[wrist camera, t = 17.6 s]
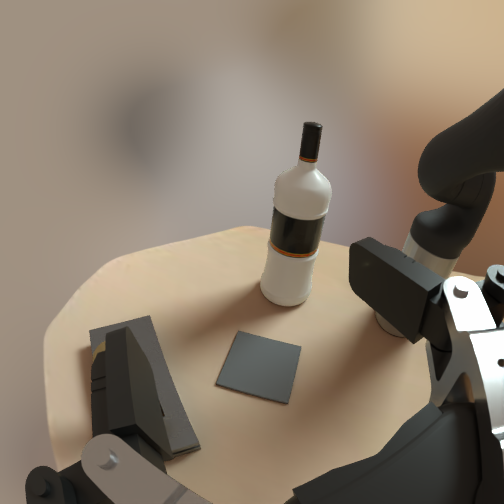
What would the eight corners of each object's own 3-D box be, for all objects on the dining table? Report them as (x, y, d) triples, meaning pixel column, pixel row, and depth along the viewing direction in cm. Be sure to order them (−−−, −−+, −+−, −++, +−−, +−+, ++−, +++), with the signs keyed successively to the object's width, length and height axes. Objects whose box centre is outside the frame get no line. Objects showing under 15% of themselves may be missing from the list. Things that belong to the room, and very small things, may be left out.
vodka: (265, 311, 49) (290, 127, 31) (255, 275, 56) (271, 113, 39) (316, 306, 51) (359, 135, 33) (301, 272, 58) (330, 119, 40)
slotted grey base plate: (95, 342, 40) (89, 330, 38) (153, 328, 44) (149, 315, 42) (125, 469, 25) (117, 463, 23) (201, 448, 29) (198, 442, 27)
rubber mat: (238, 332, 45) (238, 330, 45) (301, 348, 43) (301, 346, 43) (216, 384, 37) (216, 383, 37) (287, 404, 35) (288, 402, 35)
